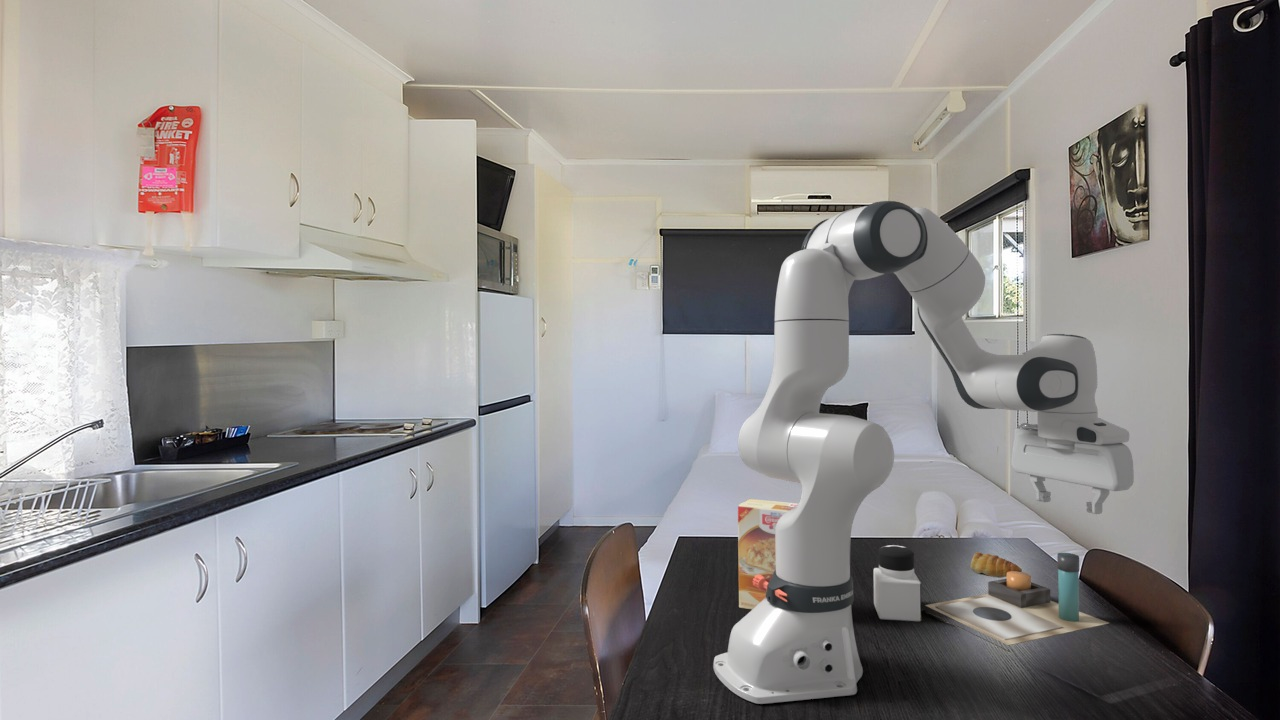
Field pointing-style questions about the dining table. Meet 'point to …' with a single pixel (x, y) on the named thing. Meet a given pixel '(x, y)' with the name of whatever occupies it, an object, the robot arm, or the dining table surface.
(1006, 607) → the beige board with holder
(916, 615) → the medicine bottle
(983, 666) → the dining table surface
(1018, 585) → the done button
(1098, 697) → the dining table surface
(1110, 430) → the robot arm
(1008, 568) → the pastry
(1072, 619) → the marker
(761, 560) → the coffeecake box
